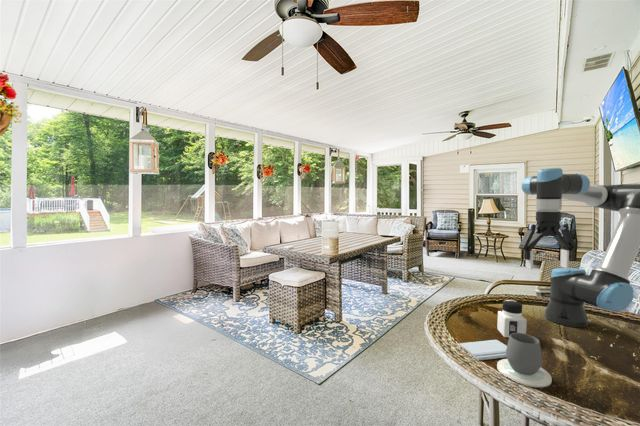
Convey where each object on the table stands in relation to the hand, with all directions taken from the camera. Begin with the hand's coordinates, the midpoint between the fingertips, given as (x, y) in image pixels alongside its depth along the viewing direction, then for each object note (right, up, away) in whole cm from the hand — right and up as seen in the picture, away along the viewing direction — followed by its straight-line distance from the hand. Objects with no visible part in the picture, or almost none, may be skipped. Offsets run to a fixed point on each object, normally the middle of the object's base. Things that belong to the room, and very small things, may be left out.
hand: (546, 267), depth 115 cm
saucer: (-22, -29, -20) cm, 41 cm away
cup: (-22, -28, -20) cm, 41 cm away
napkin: (-25, -28, -6) cm, 38 cm away
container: (-9, -28, +7) cm, 30 cm away
